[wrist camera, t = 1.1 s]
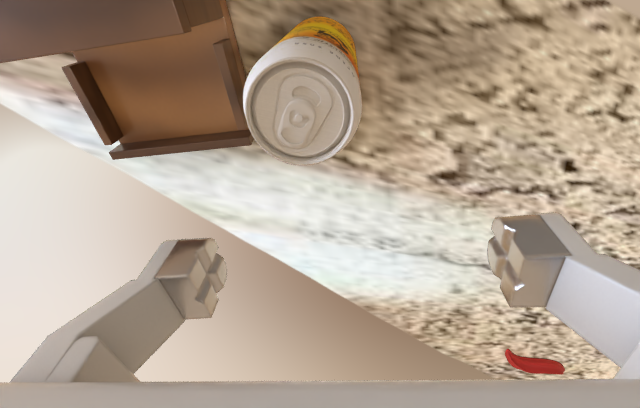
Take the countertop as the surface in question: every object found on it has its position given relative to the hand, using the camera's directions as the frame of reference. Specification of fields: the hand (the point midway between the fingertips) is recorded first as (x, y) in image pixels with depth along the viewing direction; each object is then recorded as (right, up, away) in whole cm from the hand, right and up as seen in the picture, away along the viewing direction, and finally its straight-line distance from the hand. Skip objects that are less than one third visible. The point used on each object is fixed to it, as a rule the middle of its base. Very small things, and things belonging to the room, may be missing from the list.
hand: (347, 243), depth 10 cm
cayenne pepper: (+34, -24, +42) cm, 59 cm away
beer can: (-1, +14, +18) cm, 23 cm away
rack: (-15, +15, +19) cm, 28 cm away
